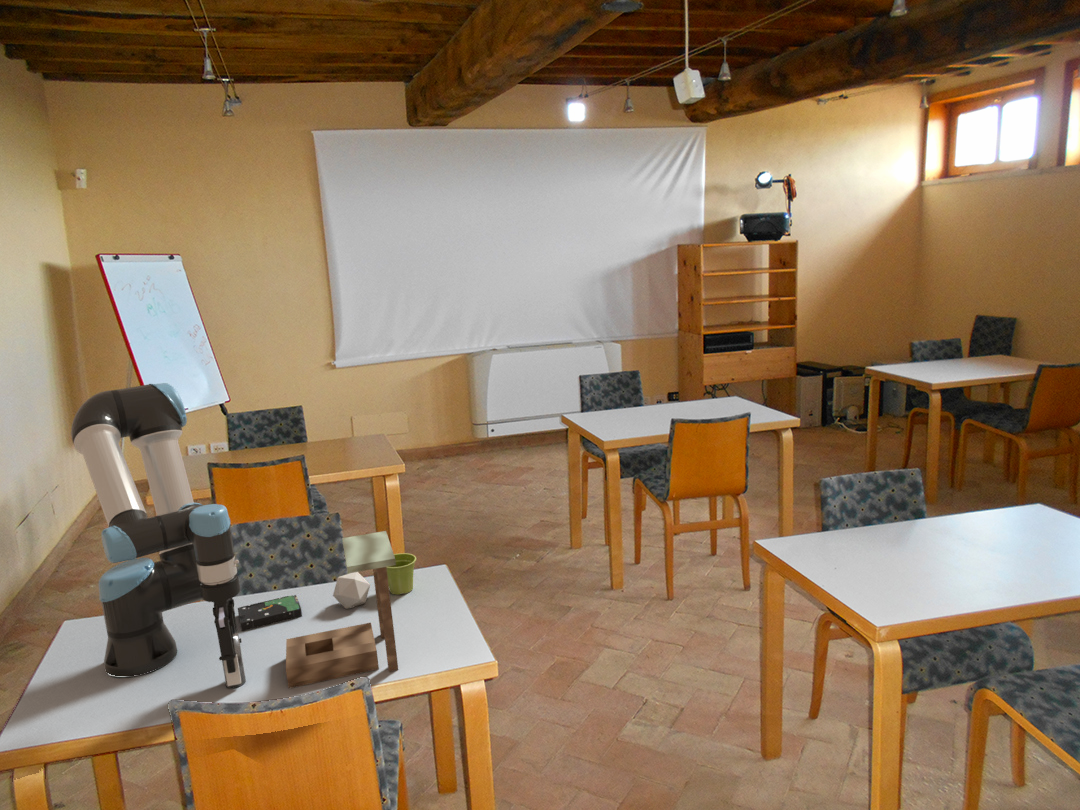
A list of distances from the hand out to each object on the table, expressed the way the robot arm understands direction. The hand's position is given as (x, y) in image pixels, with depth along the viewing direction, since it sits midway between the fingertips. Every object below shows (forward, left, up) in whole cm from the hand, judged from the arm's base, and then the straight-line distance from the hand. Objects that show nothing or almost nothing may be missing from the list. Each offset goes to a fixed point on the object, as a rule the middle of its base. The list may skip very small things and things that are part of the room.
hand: (235, 678), depth 169 cm
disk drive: (+6, +32, -2) cm, 32 cm away
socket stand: (+23, 0, -1) cm, 24 cm away
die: (+27, +29, -1) cm, 40 cm away
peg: (0, 0, -1) cm, 1 cm away
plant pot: (+40, +32, -1) cm, 51 cm away
